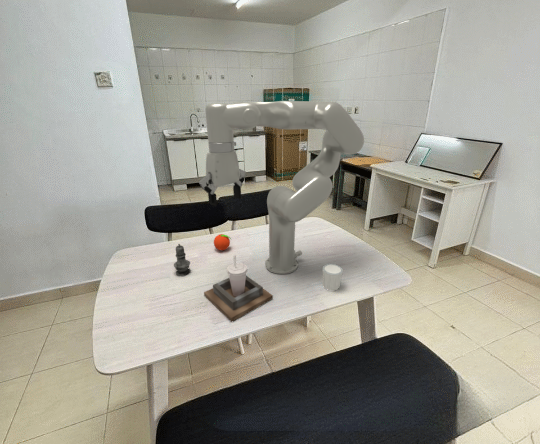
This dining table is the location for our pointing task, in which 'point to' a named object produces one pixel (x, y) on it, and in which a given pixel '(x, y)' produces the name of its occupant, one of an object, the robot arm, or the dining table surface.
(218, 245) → the clementine
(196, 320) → the dining table surface
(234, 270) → the smoothie
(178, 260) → the chess piece
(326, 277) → the shot glass
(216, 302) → the socket block
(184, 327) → the dining table surface
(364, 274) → the dining table surface
